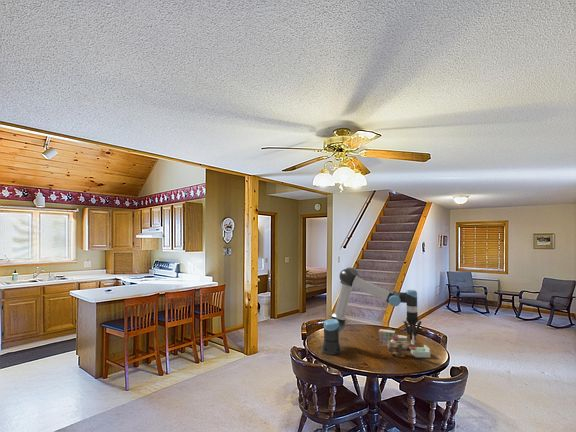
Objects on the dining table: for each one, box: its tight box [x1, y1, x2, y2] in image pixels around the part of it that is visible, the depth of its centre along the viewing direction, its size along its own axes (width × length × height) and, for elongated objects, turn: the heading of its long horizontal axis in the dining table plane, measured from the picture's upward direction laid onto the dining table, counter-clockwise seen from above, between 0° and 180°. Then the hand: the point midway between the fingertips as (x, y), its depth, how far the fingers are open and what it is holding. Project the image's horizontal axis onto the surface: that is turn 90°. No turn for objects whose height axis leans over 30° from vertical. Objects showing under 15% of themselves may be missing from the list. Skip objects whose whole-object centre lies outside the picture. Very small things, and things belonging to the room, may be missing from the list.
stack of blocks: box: [378, 328, 408, 351], centre depth 269 cm, size 21×6×12 cm, turn 63°
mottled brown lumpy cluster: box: [386, 340, 416, 353], centre depth 248 cm, size 18×11×7 cm, turn 89°
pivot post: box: [392, 345, 405, 358], centre depth 251 cm, size 6×8×8 cm
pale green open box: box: [410, 344, 431, 359], centre depth 250 cm, size 11×10×6 cm
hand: (412, 344), depth 244 cm, fingers closed
